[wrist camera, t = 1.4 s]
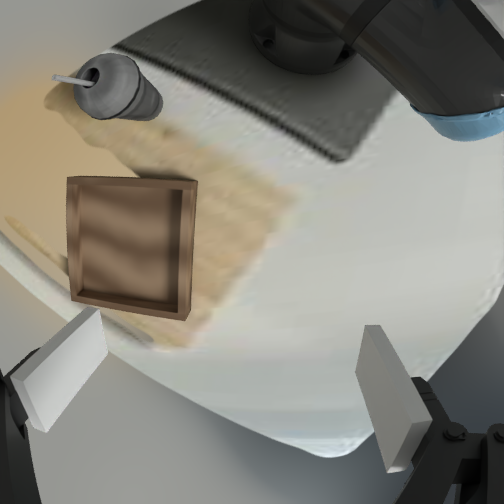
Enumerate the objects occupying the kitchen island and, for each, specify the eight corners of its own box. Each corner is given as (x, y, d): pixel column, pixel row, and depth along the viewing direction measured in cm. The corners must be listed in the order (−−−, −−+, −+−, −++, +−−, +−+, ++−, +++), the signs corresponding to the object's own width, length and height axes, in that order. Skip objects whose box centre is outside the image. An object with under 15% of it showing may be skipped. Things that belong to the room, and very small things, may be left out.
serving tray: (80, 175, 41) (67, 177, 37) (197, 181, 40) (191, 182, 37) (82, 292, 45) (71, 300, 42) (190, 310, 45) (185, 321, 41)
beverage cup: (184, 103, 38) (117, 55, 18) (144, 142, 39) (54, 126, 20) (151, 70, 37) (74, 12, 17) (114, 107, 38) (20, 77, 19)
